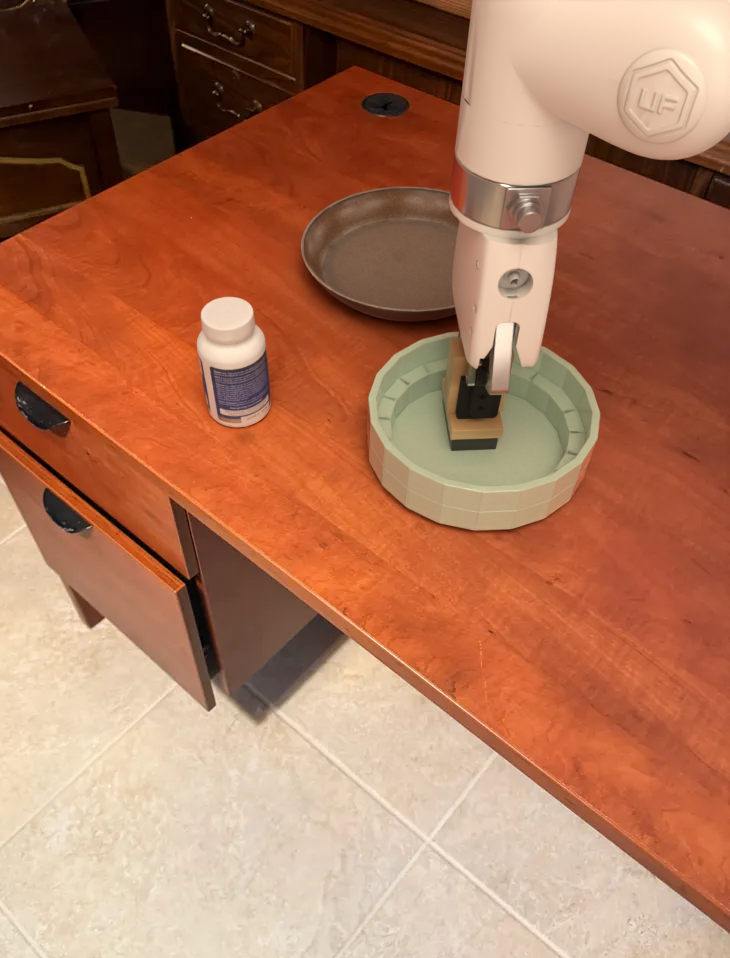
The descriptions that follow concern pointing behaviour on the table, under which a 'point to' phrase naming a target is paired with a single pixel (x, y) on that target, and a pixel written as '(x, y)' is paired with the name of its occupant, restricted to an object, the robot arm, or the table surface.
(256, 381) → the pill bottle
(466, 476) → the bowl
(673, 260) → the table surface
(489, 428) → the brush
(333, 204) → the plant saucer
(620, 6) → the robot arm
